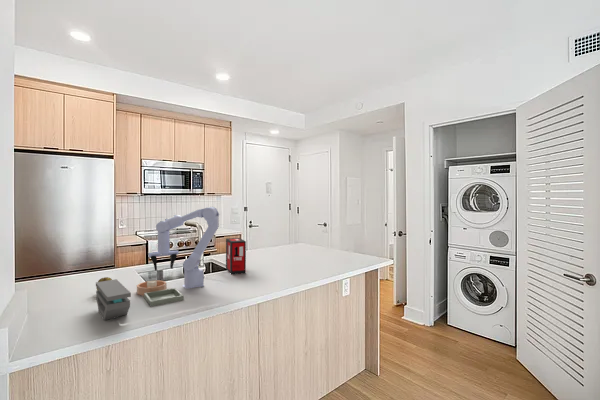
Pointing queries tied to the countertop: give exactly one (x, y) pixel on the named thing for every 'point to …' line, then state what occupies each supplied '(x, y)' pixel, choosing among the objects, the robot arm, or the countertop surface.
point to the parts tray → (163, 296)
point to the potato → (104, 280)
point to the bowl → (143, 287)
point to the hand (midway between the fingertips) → (163, 269)
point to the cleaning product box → (236, 255)
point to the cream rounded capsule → (151, 284)
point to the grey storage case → (112, 299)
